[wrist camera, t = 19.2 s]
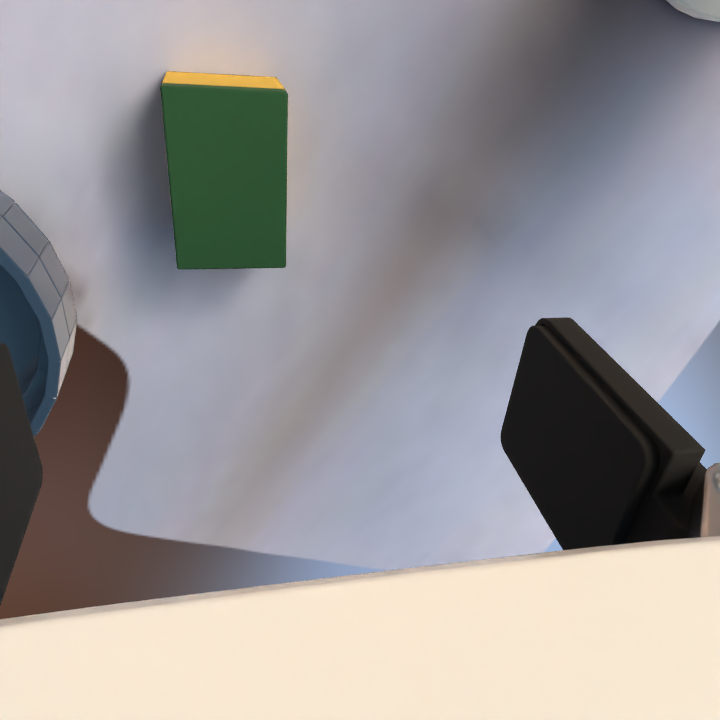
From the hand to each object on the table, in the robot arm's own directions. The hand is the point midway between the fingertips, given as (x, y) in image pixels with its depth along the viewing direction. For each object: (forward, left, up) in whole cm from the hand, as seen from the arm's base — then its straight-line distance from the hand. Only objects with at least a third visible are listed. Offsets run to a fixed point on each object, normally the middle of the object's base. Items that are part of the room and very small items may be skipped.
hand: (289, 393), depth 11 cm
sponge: (0, -1, -19) cm, 19 cm away
